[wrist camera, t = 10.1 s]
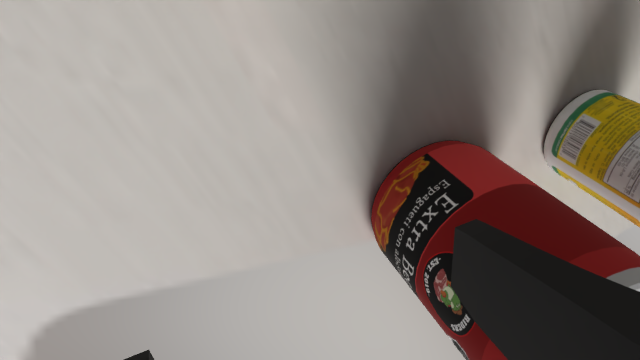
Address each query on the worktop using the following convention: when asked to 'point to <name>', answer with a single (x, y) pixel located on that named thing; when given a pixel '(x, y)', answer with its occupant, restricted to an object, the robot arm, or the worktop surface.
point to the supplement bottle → (599, 149)
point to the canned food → (489, 207)
